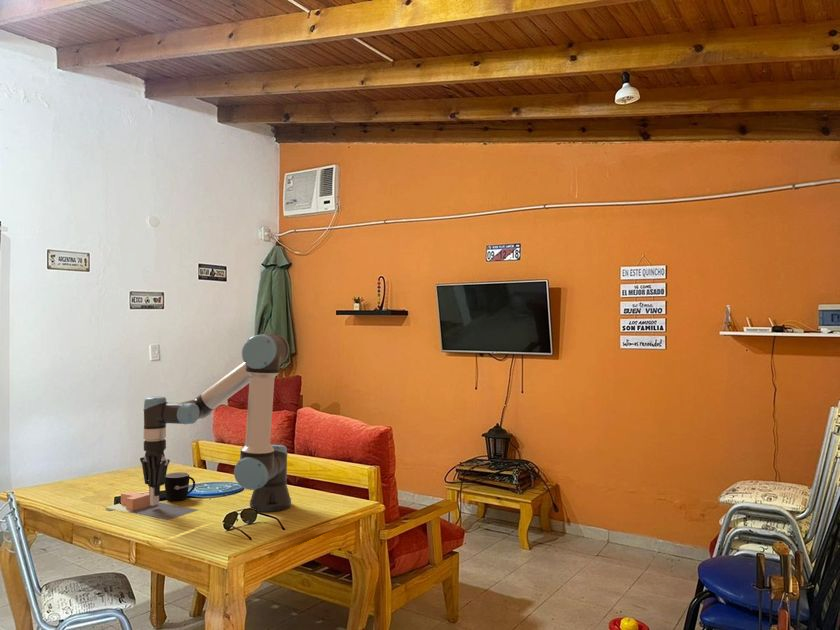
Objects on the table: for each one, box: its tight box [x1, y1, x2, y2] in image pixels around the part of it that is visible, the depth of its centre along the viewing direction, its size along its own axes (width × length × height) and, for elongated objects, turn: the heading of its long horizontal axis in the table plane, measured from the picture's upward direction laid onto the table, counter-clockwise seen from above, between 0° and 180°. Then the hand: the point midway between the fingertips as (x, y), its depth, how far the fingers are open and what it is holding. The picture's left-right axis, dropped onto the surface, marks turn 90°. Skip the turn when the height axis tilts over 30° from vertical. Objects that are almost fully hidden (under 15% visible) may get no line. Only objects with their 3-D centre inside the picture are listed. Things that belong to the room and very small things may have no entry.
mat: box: [105, 502, 198, 521], centre depth 235 cm, size 32×14×1 cm, turn 63°
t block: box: [120, 491, 150, 511], centre depth 239 cm, size 10×10×4 cm
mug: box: [164, 471, 196, 503], centre depth 249 cm, size 12×9×10 cm
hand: (154, 504), depth 234 cm, fingers closed
